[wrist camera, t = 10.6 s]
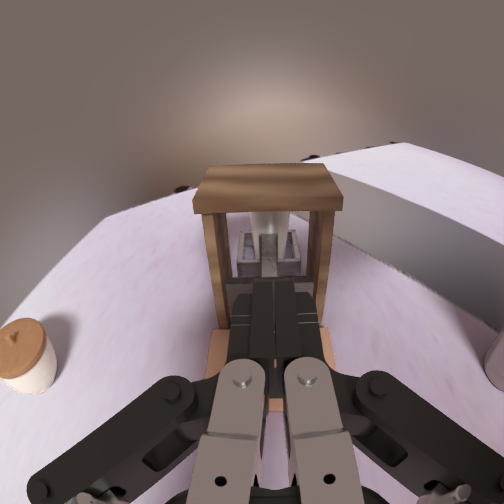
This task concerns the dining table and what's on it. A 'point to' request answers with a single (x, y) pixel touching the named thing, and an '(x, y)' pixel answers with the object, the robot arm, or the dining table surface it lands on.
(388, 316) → the dining table surface
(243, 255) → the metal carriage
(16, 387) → the lidded jar
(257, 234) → the drinking glass
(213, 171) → the walnut tunnel
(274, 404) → the board
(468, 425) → the dining table surface
